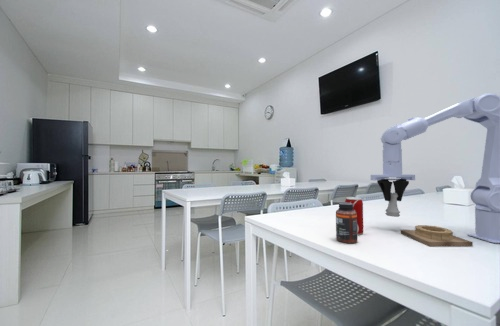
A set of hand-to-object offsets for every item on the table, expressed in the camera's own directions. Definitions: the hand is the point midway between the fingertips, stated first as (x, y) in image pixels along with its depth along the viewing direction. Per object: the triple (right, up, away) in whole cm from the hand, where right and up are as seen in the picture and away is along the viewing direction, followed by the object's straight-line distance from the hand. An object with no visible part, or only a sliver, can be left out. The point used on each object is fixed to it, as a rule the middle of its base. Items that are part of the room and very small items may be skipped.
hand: (393, 200), depth 78 cm
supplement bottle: (-21, -10, -11) cm, 26 cm away
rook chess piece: (0, -5, 0) cm, 5 cm away
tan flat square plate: (+6, -10, -10) cm, 15 cm away
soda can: (-15, -11, -3) cm, 19 cm away
